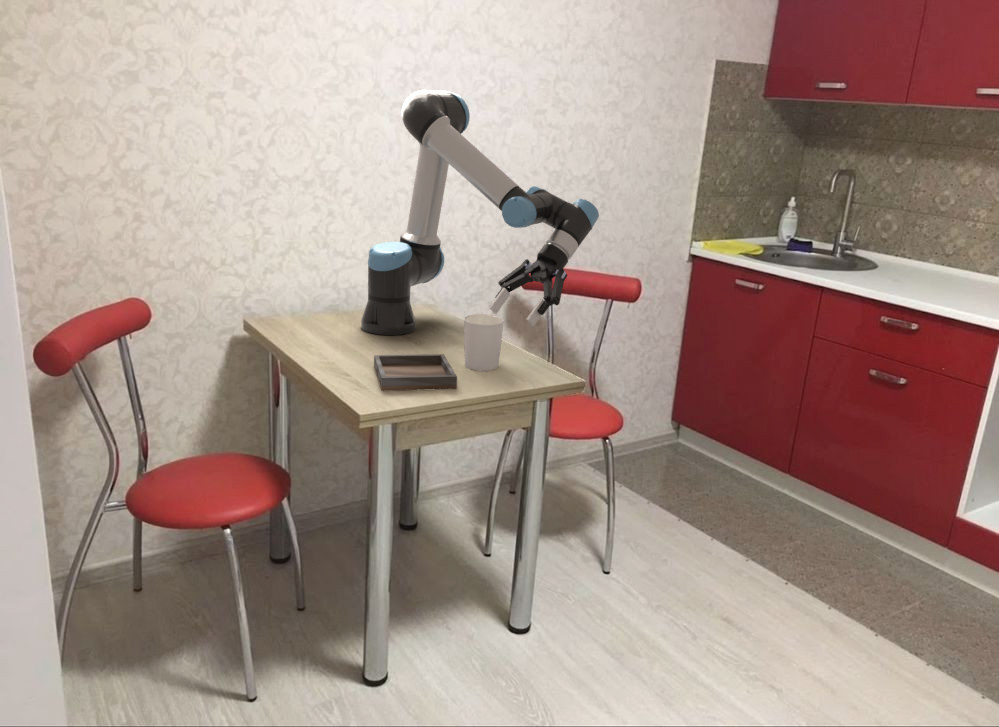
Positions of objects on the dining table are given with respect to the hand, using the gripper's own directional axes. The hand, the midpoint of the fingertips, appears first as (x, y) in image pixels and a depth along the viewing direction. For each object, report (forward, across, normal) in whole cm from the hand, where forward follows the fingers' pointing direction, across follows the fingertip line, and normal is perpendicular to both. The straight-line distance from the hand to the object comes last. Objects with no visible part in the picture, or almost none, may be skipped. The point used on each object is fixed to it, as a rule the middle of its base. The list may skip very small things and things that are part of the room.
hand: (510, 316), depth 213 cm
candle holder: (+14, +1, -3) cm, 14 cm away
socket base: (+28, +3, +11) cm, 30 cm away
